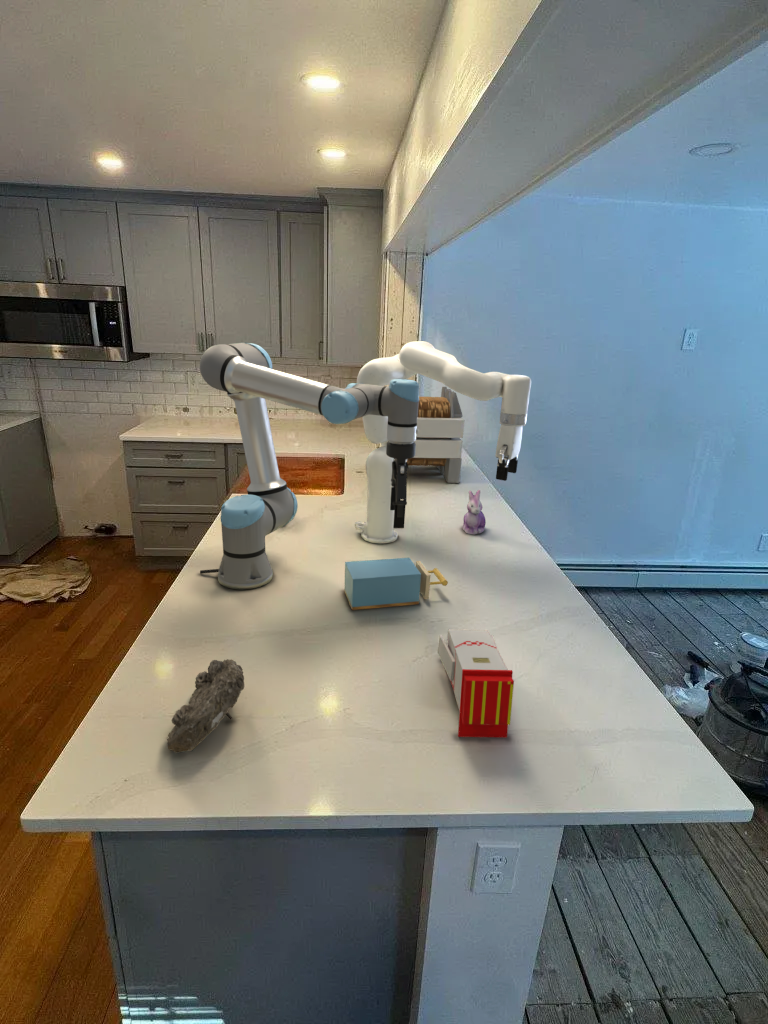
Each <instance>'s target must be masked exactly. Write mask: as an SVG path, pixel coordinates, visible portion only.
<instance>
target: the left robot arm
mask: <svg viewBox="0 0 768 1024" xmlns="http://www.w3.org/2000/svg"><path fill="white" fill-rule="evenodd" d="M199 372H200V374H201V377H202V379H203V380H204V382H205V383H206V384H207V385H208V386H210V388H213V389H215V390H218V391H222V392H225V393H226V395H227V397H228V398H230V399H231V400H233V402H234V406H235V412H236V416H237V421H238V425H239V431H240V435H241V441H242V445H243V450H244V456H245V462H246V466H247V471H248V475H249V479H250V484H249V485H248V487H247V488H246V491H247V494H240V495H235V496H233V497H230V498H228V499H226V501H224V502H223V504H222V505H221V508H220V523H221V524H220V525H221V539H222V553H223V554H222V558H221V560H220V565H219V568H213V569H211V568H209V569H201V570H200V571H199V574H201V575H202V574H203V575H204V574H214V573H217V581H218V583H219V584H220V585H221V586H223V587H224V588H228V589H231V590H253V589H257V588H260V587H263V586H265V585H267V584H268V583H270V582H271V581H272V579H273V576H274V575H273V573H274V572H273V567H272V564H271V562H270V559H269V557H268V554H267V552H266V551H267V550H266V536H269V535H270V534H272V533H274V532H276V531H277V530H279V529H281V528H283V527H286V526H287V525H288V524H289V523H290V522H291V521H292V520H294V518H295V517H296V515H297V512H298V507H299V506H298V499H297V497H296V494H295V493H294V492H293V491H292V490H291V489H290V487H288V485H287V482H286V480H285V479H283V478H282V477H281V475H280V471H279V465H278V459H277V455H276V450H275V449H276V448H275V444H274V438H273V432H272V427H271V423H270V417H269V411H268V407H267V401H270V402H274V403H278V404H281V405H285V406H288V407H292V408H295V409H297V410H298V409H299V410H302V411H305V412H309V413H312V414H315V415H319V416H323V417H324V419H325V420H326V421H328V422H329V423H331V424H333V425H344V424H347V423H350V422H352V421H355V420H356V419H360V418H362V417H363V416H366V415H379V416H388V424H387V439H388V440H389V441H388V442H387V447H386V454H387V456H389V457H391V458H394V459H393V462H392V479H391V482H392V483H391V485H392V486H393V487H391V504H390V510H394V526H393V527H394V529H405V519H406V506H407V504H408V501H407V495H408V494H407V493H408V492H407V491H408V490H407V488H408V470H409V466H408V465H407V462H406V459H410V458H413V457H414V456H415V449H416V444H415V442H414V441H415V440H416V433H418V432H419V429H416V428H417V417H418V406H419V397H420V385H419V382H418V381H416V380H413V379H409V378H407V379H393V380H391V381H390V385H385V386H377V385H369V384H363V383H357V382H356V383H355V382H352V383H348V384H347V385H346V387H345V388H343V387H339V386H335V385H331V384H328V383H324V382H320V381H317V380H314V379H310V378H305V377H302V376H299V375H295V374H292V373H287V372H285V371H281V370H276V369H273V362H272V359H271V357H270V355H269V353H268V352H267V351H266V350H265V349H264V347H262V346H260V345H258V344H257V343H252V342H236V343H220V344H214V345H212V346H210V347H209V348H207V349H206V350H205V351H204V352H203V354H202V355H201V357H200V360H199ZM266 400H267V401H266Z"/></svg>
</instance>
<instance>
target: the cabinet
mask: <svg viewBox="0 0 768 1024" xmlns="http://www.w3.org/2000/svg"><path fill="white" fill-rule="evenodd" d="M420 581H421V573H420V572H419V570H418V569H417V568H416V564H415V563H414V562H413V560H412V559H411V558H410V557H398V558H396V557H395V558H382V559H369V560H368V559H367V560H366V559H365V560H352V561H344V589H343V592H344V594H345V596H346V599H347V601H348V604H349V606H350V609H351V611H358V610H369V609H379V608H390V607H399V606H400V607H401V606H402V607H403V606H412V605H413V606H414V605H419V604H420V595H421V593H420ZM419 594H420V595H419Z"/></svg>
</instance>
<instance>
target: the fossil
mask: <svg viewBox="0 0 768 1024" xmlns="http://www.w3.org/2000/svg"><path fill="white" fill-rule="evenodd" d="M243 670H244V669H243V667H242V665H240V664H237V662H236V661H235V660H234V659H232V658H231V659H227V658H226V659H224V660H223V661H222V660H217V659H212V660H211V661H210V663H209V665H208V666H207V671H201V672H199V673H198V674H197V675H196V676H195V680H194V684H195V685H194V687H195V689H194V690H193V693H192V694H191V697H190V698H189V700H188V704H184V705H182V706H181V707H180V709H177V710H176V711H175V713H174V715H173V716H172V718H171V723H172V724H173V727H172V730H171V731H170V732H168V734H167V738H166V741H167V742H166V745H167V749H168V750H169V751H173V752H174V753H176V754H178V753H182V752H188V751H189V752H192V751H193V750H195V748H196V747H197V746H199V744H200V743H201V742H203V741H204V740H205V739H206V738H207V737H208V736H209V735H210V734H211V733H212V732H214V730H215V729H217V727H218V726H219V724H220V722H221V721H222V720H223V719H224V718H225V716H226V717H227V719H229V720H233V717H232V715H230V714H229V710H230V709H231V708H234V706H235V704H236V703H237V702H238V699H239V697H240V695H241V693H242V691H243V690H245V689H244V688H245V675H244V671H243Z"/></svg>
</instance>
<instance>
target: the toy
mask: <svg viewBox="0 0 768 1024" xmlns="http://www.w3.org/2000/svg"><path fill="white" fill-rule="evenodd" d="M446 640H447V643H446V641H445V639H444V636H443V635H442V634H439V637H438V646H437V656H438V657H439V659H440V661H441V663H442V666H443V668H444V670H445V672H446V674H447V677H448V679H449V681H450V684H451V687H452V690H453V693H454V697H455V701H456V705H457V708H458V711H459V714H458V715H459V716H458V730H457V731H458V732H457V737H458V738H508V731H509V726H510V725H511V717H512V707H513V697H514V696H513V695H514V684H515V680H514V679H513V673H514V671H513V670H512V669H508V667H507V665H506V662H505V661H504V659H503V658H502V655H501V653H500V651H499V649H498V647H497V643H496V639H495V637H494V635H493V634H491V632H490V631H489V629H467V628H466V629H465V628H463V629H461V628H460V629H459V628H448V630H447V639H446Z"/></svg>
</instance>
